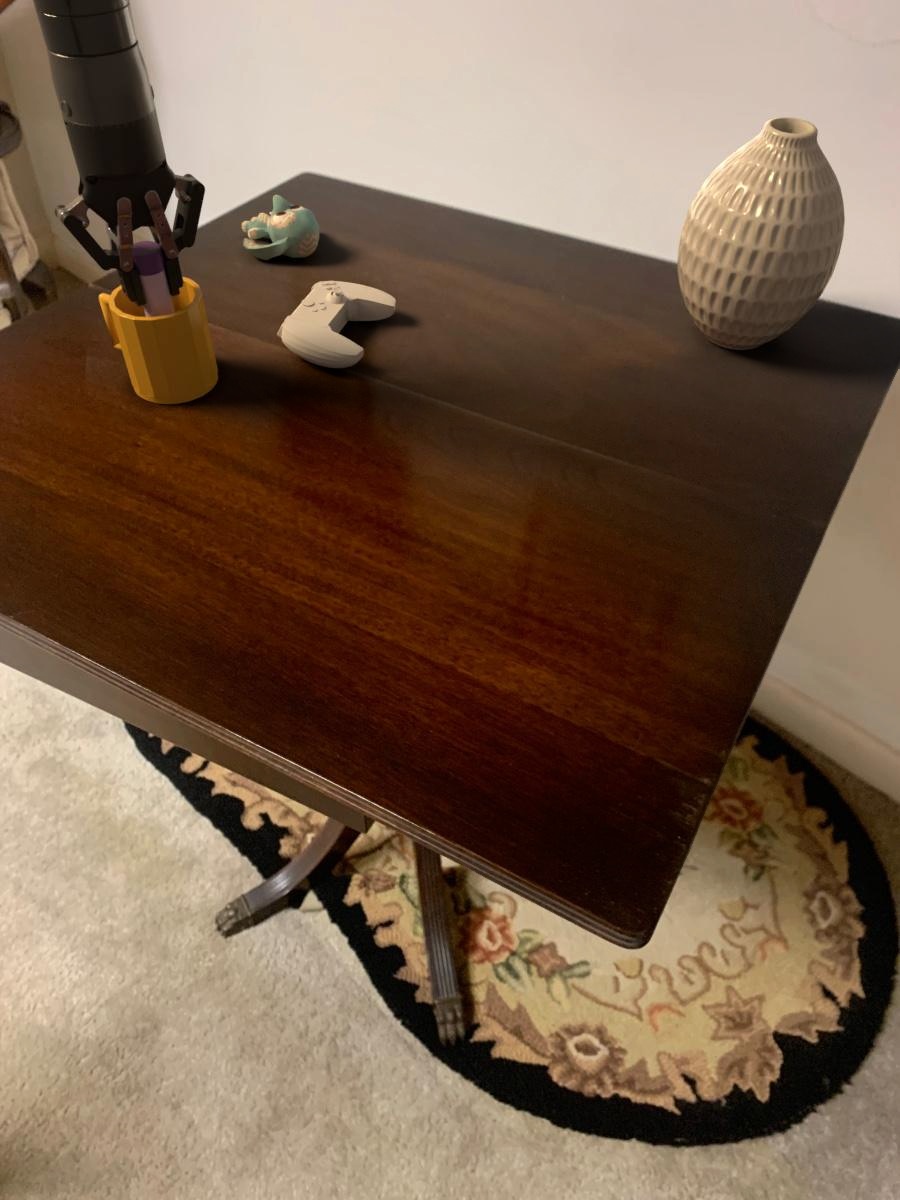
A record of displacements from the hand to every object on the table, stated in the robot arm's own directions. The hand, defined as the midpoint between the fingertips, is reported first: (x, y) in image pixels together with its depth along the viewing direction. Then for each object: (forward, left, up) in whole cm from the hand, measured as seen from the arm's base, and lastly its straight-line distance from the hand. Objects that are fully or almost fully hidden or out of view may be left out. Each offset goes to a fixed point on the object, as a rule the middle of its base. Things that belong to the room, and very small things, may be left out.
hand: (155, 296), depth 86 cm
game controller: (+17, +7, -10) cm, 21 cm away
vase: (+62, +5, -10) cm, 63 cm away
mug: (-1, +1, -10) cm, 10 cm away
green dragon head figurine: (+10, +29, -10) cm, 32 cm away
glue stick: (0, 0, -5) cm, 5 cm away
